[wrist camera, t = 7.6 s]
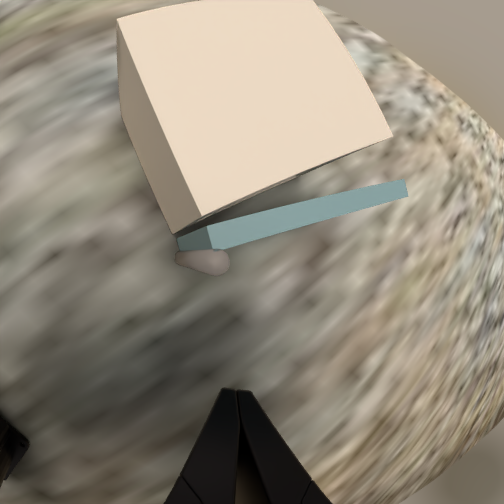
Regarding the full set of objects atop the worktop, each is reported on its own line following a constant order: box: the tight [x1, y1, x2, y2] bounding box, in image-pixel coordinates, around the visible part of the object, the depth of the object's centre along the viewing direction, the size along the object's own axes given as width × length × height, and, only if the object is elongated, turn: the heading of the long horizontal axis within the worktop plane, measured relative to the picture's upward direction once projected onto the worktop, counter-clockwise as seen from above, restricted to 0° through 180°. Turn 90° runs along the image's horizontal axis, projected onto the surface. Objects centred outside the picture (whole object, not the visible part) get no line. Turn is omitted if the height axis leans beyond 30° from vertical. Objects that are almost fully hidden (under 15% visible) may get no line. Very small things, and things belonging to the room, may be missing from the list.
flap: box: [175, 179, 408, 276], centre depth 14 cm, size 9×2×8 cm, turn 106°
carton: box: [117, 0, 393, 234], centre depth 13 cm, size 9×8×8 cm
